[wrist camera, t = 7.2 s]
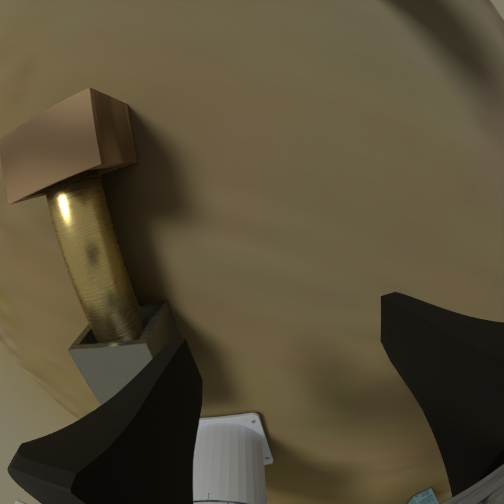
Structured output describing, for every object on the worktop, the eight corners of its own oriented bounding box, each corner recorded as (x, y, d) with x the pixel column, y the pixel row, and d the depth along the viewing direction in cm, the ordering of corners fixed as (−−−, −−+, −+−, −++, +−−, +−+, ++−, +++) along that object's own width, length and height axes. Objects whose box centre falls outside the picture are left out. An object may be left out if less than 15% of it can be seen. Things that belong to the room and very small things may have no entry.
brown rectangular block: (137, 162, 16) (101, 163, 12) (54, 192, 17) (8, 204, 12) (127, 104, 15) (89, 87, 10) (45, 140, 15) (-2, 140, 11)
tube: (154, 320, 19) (139, 351, 15) (111, 325, 19) (91, 354, 15) (102, 130, 15) (72, 125, 11) (58, 149, 15) (25, 150, 12)
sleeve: (191, 367, 21) (181, 415, 16) (128, 372, 21) (108, 415, 16) (167, 300, 19) (146, 343, 14) (99, 311, 19) (67, 349, 14)
